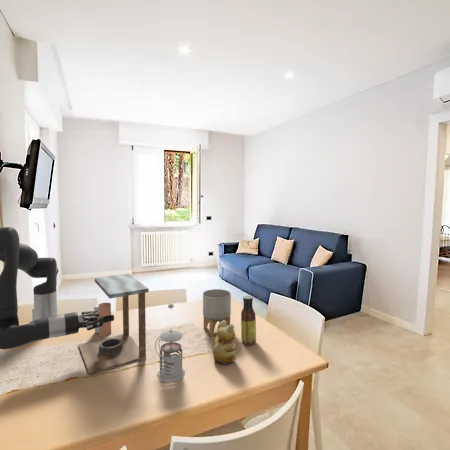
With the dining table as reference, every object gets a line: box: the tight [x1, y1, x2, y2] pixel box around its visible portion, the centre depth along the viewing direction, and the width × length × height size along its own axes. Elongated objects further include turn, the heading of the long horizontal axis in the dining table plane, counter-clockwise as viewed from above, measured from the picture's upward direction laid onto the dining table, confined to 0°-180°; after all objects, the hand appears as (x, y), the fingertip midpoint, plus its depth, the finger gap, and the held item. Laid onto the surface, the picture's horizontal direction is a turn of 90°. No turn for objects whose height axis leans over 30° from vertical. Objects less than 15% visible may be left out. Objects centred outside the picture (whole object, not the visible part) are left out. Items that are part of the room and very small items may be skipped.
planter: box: [202, 288, 232, 337], centre depth 138 cm, size 13×13×18 cm
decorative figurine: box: [212, 320, 237, 365], centre depth 112 cm, size 10×8×15 cm
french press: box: [154, 303, 186, 383], centre depth 103 cm, size 10×12×25 cm
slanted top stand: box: [78, 273, 150, 376], centre depth 117 cm, size 21×26×27 cm
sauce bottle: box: [240, 295, 257, 346], centre depth 126 cm, size 7×6×20 cm
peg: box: [98, 302, 112, 338], centre depth 116 cm, size 4×4×12 cm
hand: (112, 315), depth 117 cm, fingers closed on peg, 4 cm apart
